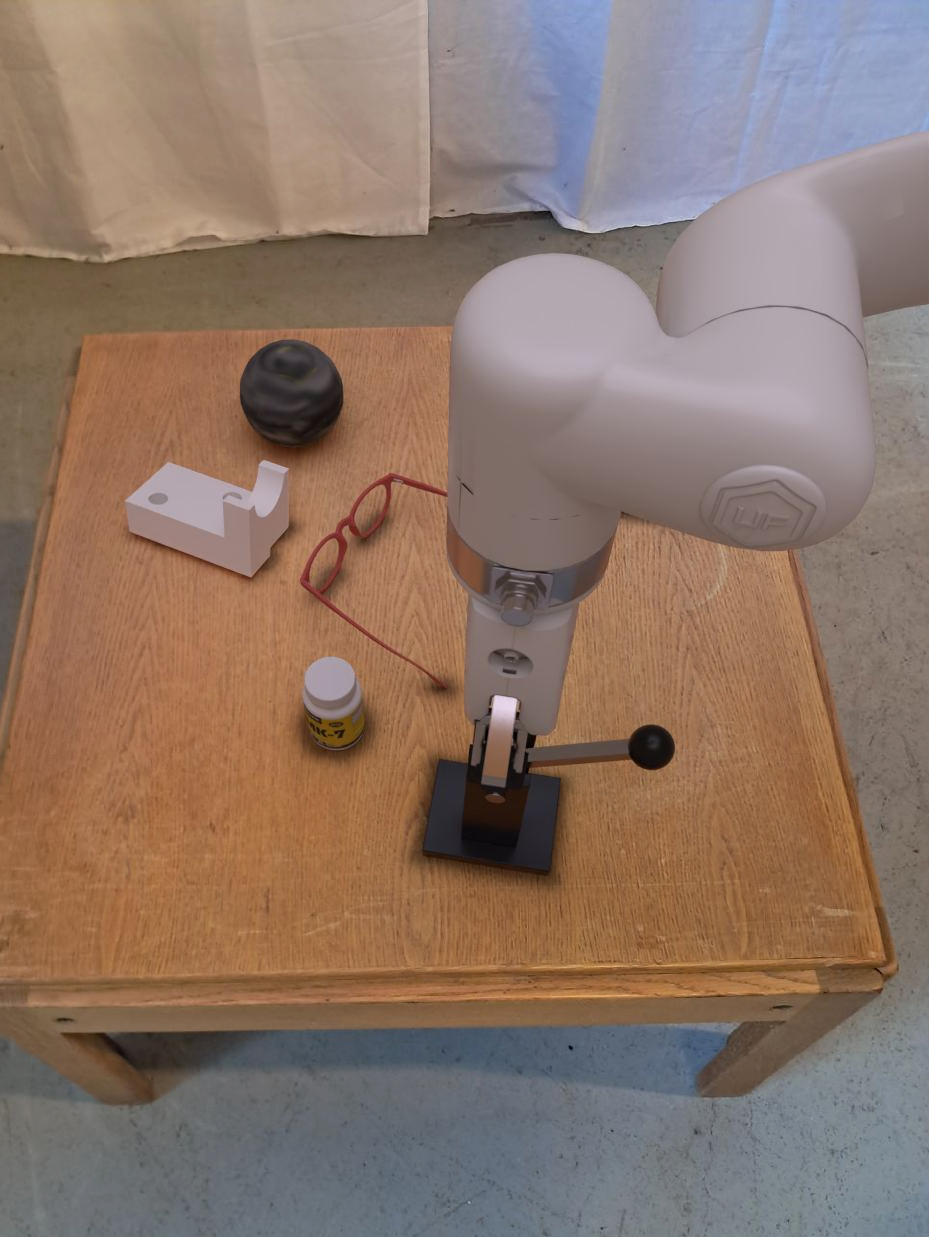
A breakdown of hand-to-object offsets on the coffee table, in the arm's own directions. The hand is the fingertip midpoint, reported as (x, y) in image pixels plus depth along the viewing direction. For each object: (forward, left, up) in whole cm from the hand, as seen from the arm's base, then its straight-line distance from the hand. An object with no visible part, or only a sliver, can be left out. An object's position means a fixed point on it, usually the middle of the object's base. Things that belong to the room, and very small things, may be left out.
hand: (505, 708), depth 61 cm
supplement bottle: (+14, -8, -23) cm, 28 cm away
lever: (-6, -2, -10) cm, 12 cm away
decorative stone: (+25, -40, -23) cm, 53 cm away
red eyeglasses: (+10, -23, -23) cm, 34 cm away
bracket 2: (0, -2, -23) cm, 23 cm away
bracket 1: (+30, -27, -23) cm, 46 cm away
